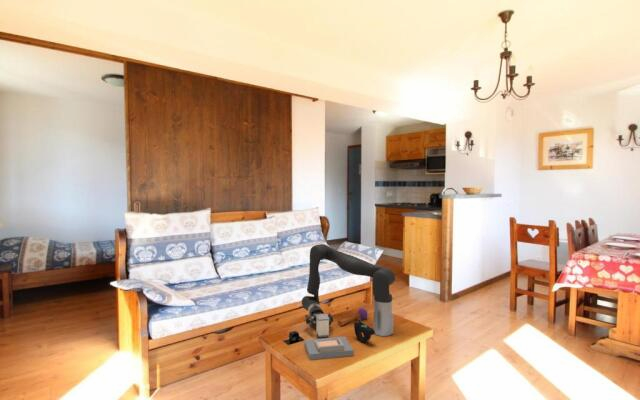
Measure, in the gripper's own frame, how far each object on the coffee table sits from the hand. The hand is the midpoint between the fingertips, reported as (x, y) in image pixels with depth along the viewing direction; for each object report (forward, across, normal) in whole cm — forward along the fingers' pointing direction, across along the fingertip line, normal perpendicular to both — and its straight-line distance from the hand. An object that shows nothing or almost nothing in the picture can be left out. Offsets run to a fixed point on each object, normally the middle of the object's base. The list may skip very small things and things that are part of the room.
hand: (321, 324), depth 170 cm
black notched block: (+2, -14, +7) cm, 16 cm away
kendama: (-14, +21, +6) cm, 26 cm away
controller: (+10, +19, +6) cm, 22 cm away
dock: (+15, 0, +6) cm, 16 cm away
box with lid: (+2, 0, +6) cm, 6 cm away
